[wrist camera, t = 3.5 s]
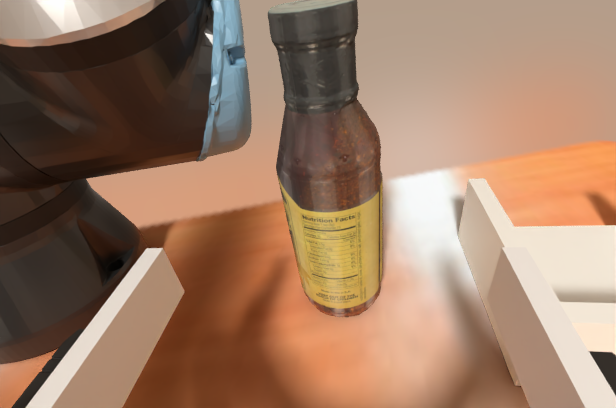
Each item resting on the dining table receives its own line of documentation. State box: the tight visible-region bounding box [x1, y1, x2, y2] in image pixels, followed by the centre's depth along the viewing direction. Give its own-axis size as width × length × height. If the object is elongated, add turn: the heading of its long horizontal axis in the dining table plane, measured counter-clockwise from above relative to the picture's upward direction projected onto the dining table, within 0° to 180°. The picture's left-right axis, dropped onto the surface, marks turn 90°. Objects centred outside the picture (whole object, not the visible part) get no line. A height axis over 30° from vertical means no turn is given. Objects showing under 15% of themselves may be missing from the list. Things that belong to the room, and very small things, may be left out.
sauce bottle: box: [268, 0, 382, 317], centre depth 20 cm, size 7×6×20 cm
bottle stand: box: [458, 178, 616, 386], centre depth 21 cm, size 13×13×6 cm
